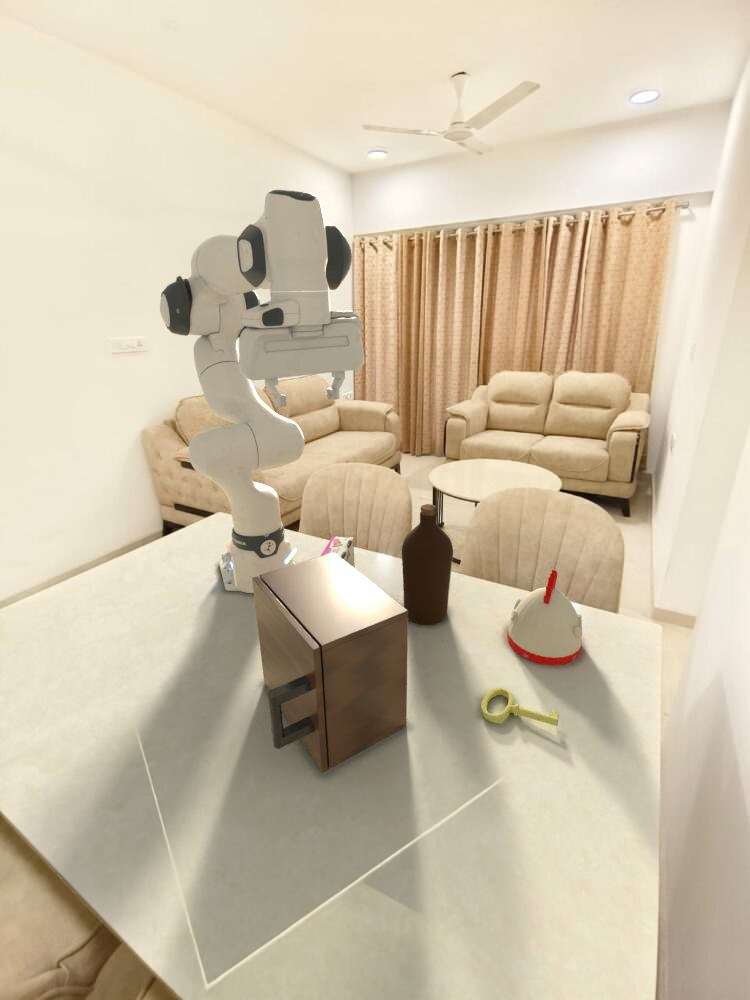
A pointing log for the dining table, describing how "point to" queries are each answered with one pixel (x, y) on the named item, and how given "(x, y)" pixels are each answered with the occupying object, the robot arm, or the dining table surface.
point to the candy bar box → (341, 548)
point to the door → (291, 676)
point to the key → (514, 709)
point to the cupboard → (350, 649)
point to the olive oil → (427, 569)
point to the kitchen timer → (546, 626)
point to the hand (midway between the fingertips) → (307, 402)
